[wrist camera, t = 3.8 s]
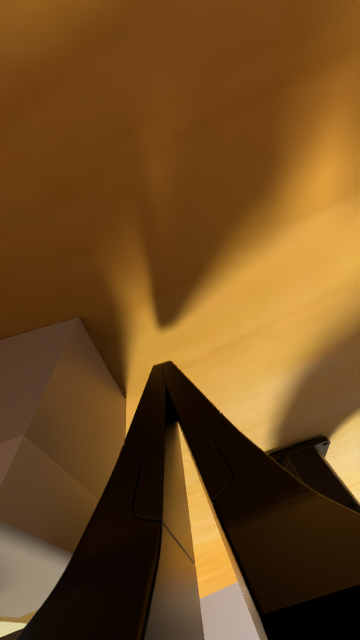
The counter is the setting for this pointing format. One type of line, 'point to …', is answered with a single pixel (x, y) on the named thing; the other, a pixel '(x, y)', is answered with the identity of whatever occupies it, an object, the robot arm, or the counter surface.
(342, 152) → the counter surface
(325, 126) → the counter surface
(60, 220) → the counter surface
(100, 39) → the counter surface
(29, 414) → the grey stepped block
